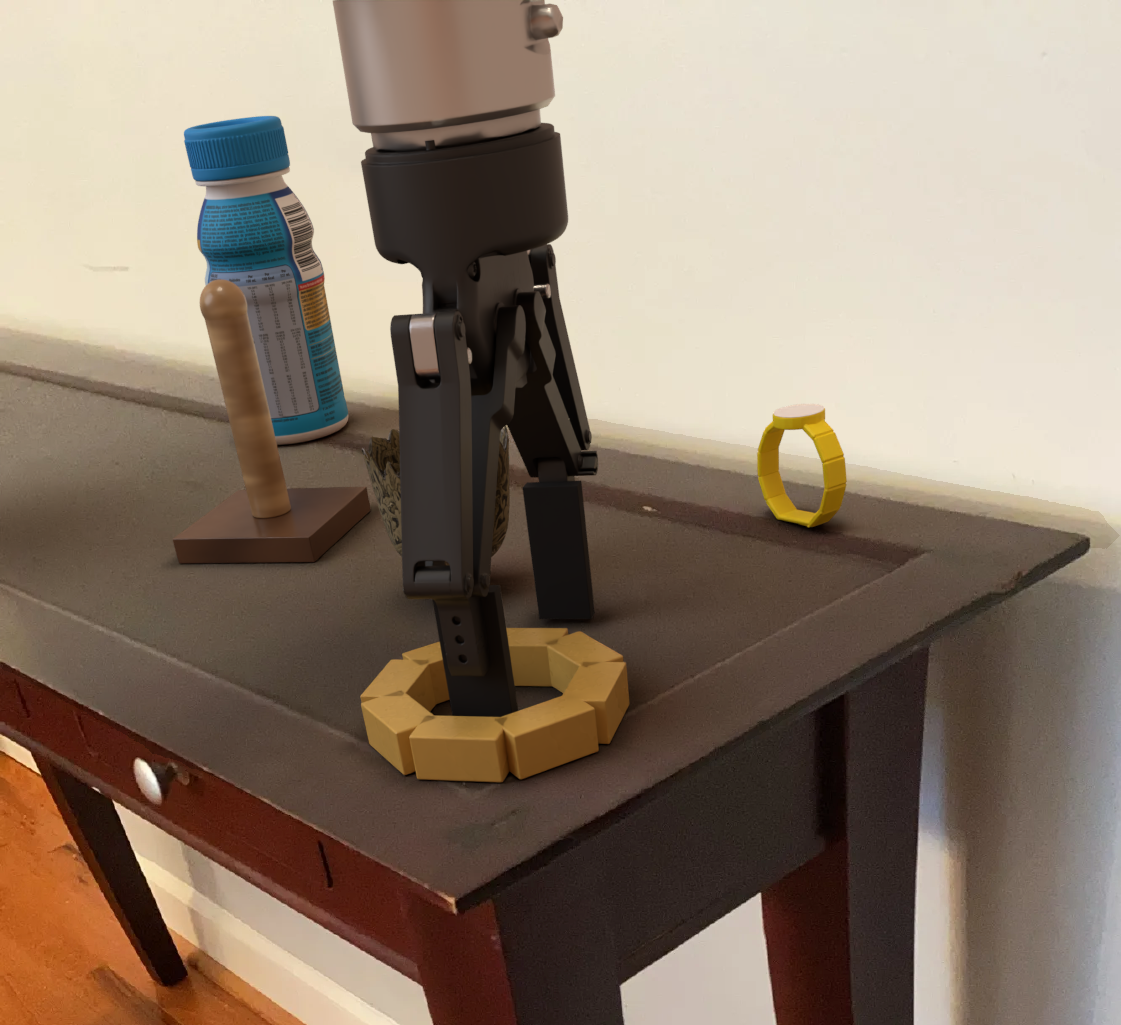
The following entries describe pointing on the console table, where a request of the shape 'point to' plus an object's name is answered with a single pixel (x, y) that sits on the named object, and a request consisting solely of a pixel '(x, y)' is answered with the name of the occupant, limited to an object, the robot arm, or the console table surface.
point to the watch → (829, 453)
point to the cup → (388, 492)
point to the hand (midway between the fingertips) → (531, 672)
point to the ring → (511, 740)
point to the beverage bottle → (269, 269)
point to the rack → (259, 464)
